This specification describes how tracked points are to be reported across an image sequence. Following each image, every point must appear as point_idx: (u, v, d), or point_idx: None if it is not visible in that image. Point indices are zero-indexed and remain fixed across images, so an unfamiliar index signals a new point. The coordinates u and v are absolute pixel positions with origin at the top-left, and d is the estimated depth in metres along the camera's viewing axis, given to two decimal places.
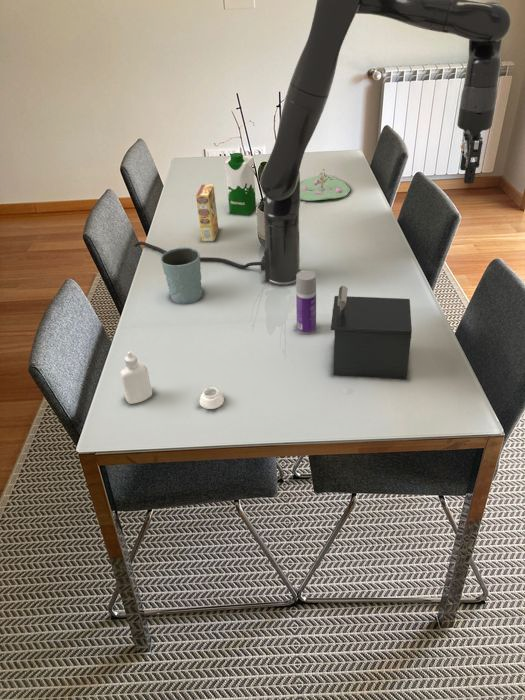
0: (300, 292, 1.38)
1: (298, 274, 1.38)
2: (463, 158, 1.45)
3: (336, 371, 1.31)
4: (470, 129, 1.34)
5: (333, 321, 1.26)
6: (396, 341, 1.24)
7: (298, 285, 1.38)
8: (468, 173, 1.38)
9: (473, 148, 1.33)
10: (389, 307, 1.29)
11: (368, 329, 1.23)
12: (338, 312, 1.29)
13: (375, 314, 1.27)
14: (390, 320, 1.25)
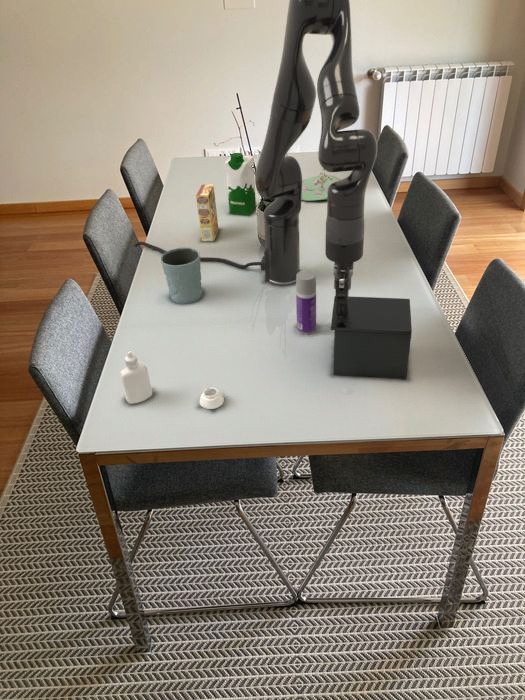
0: (300, 292, 1.38)
1: (298, 274, 1.38)
2: None
3: (336, 371, 1.31)
4: (336, 261, 1.18)
5: (333, 321, 1.26)
6: (396, 341, 1.24)
7: (298, 285, 1.38)
8: (339, 306, 1.23)
9: (339, 286, 1.18)
10: (389, 307, 1.29)
11: (368, 329, 1.23)
12: None
13: (375, 314, 1.27)
14: (390, 320, 1.25)
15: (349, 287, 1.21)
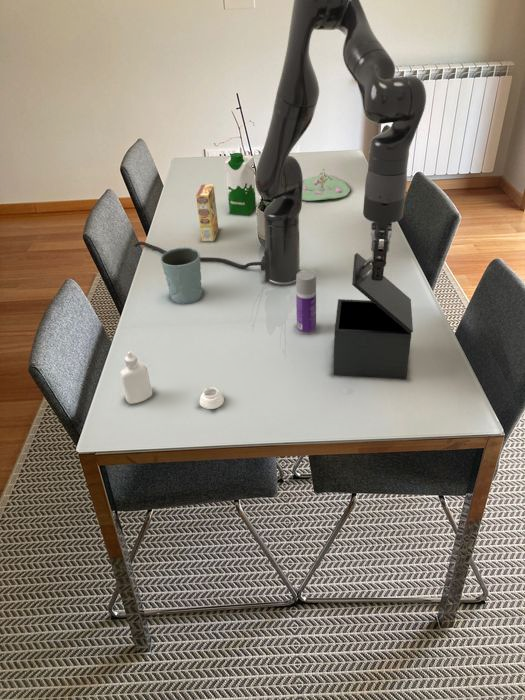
0: (300, 292, 1.38)
1: (298, 274, 1.38)
2: None
3: (336, 371, 1.31)
4: (376, 221, 1.12)
5: (356, 278, 1.19)
6: (396, 341, 1.24)
7: (298, 285, 1.38)
8: (375, 270, 1.17)
9: (378, 247, 1.12)
10: (397, 296, 1.27)
11: (382, 306, 1.19)
12: (360, 271, 1.22)
13: (387, 295, 1.24)
14: (398, 310, 1.23)
15: (387, 249, 1.15)
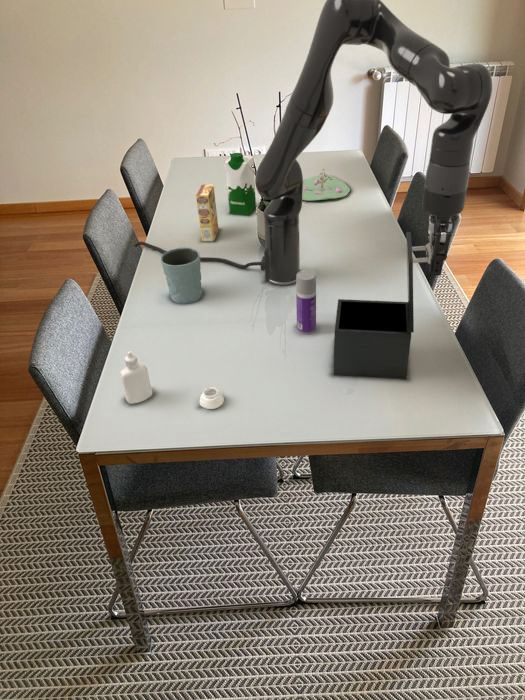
0: (300, 292, 1.38)
1: (298, 274, 1.38)
2: None
3: (336, 371, 1.31)
4: (437, 214, 1.09)
5: (412, 257, 1.14)
6: (396, 341, 1.24)
7: (298, 285, 1.38)
8: (434, 265, 1.14)
9: (439, 241, 1.09)
10: None
11: (412, 295, 1.17)
12: None
13: None
14: None
15: None
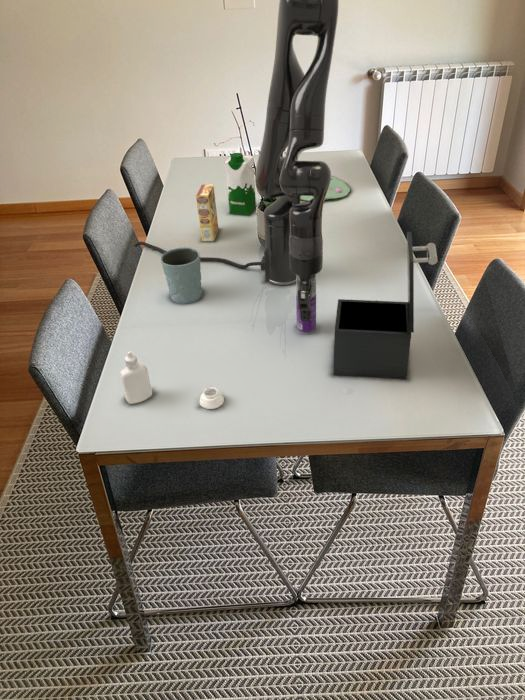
0: None
1: None
2: None
3: (336, 371, 1.31)
4: (298, 274, 1.34)
5: None
6: (396, 341, 1.24)
7: None
8: (302, 313, 1.40)
9: (300, 297, 1.34)
10: None
11: (412, 295, 1.17)
12: None
13: None
14: None
15: (311, 296, 1.37)
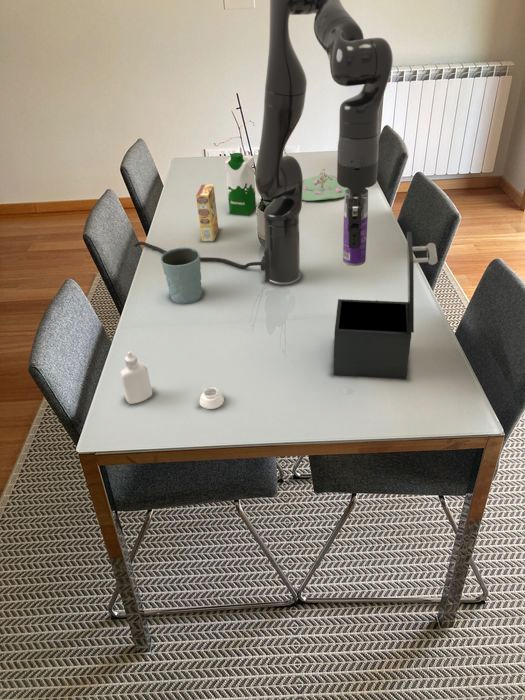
0: None
1: (347, 190, 1.16)
2: None
3: (336, 371, 1.31)
4: (349, 187, 1.12)
5: None
6: (396, 341, 1.24)
7: None
8: (352, 237, 1.18)
9: (352, 215, 1.12)
10: None
11: (412, 295, 1.17)
12: None
13: None
14: None
15: (362, 216, 1.15)
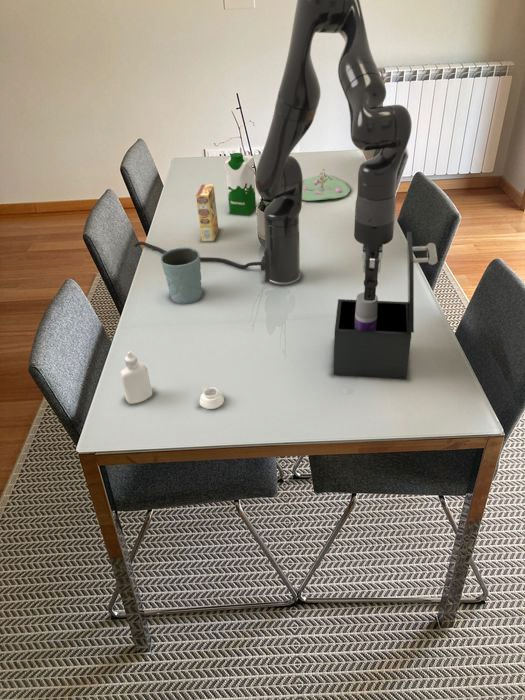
0: (359, 316, 1.28)
1: (358, 296, 1.28)
2: None
3: (336, 371, 1.31)
4: (366, 243, 1.15)
5: None
6: (396, 341, 1.24)
7: (358, 308, 1.27)
8: (367, 290, 1.19)
9: (369, 266, 1.14)
10: None
11: (412, 295, 1.17)
12: None
13: None
14: None
15: (378, 270, 1.17)
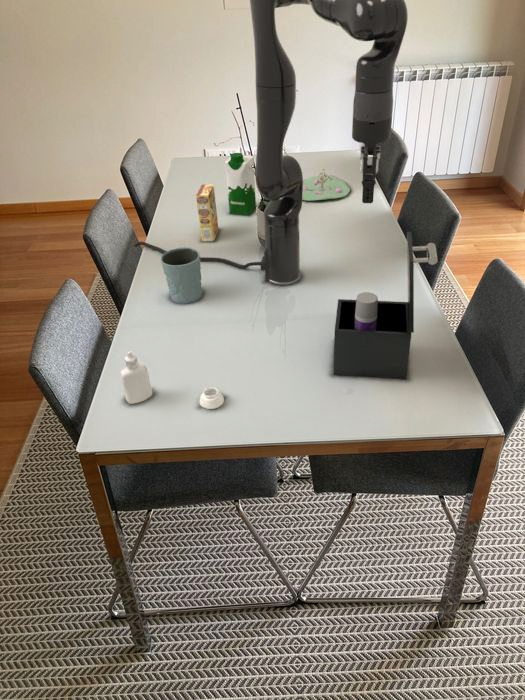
0: (359, 316, 1.28)
1: (358, 296, 1.28)
2: (365, 173, 1.27)
3: (336, 371, 1.31)
4: (364, 141, 1.15)
5: None
6: (396, 341, 1.24)
7: (358, 308, 1.27)
8: (365, 192, 1.20)
9: (367, 163, 1.15)
10: None
11: (412, 295, 1.17)
12: None
13: None
14: None
15: (376, 170, 1.18)
